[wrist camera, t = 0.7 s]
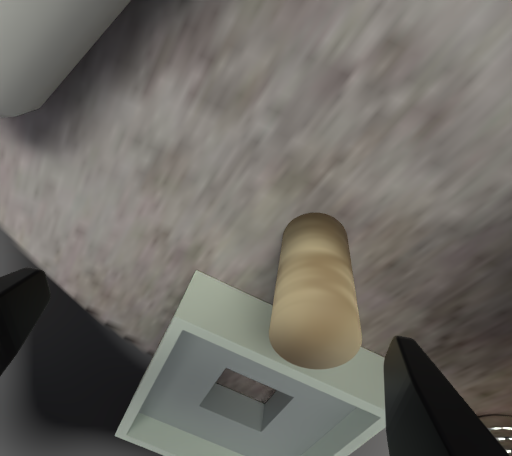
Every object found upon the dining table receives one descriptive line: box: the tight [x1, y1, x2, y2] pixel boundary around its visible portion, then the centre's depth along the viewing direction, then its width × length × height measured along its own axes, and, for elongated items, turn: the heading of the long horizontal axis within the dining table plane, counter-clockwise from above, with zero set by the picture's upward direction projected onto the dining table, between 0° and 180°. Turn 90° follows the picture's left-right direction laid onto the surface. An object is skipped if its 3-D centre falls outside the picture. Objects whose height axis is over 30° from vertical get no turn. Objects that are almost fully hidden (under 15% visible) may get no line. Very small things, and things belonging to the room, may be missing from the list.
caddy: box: [115, 270, 386, 456], centre depth 28 cm, size 16×16×4 cm
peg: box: [269, 213, 362, 369], centre depth 19 cm, size 4×4×8 cm
